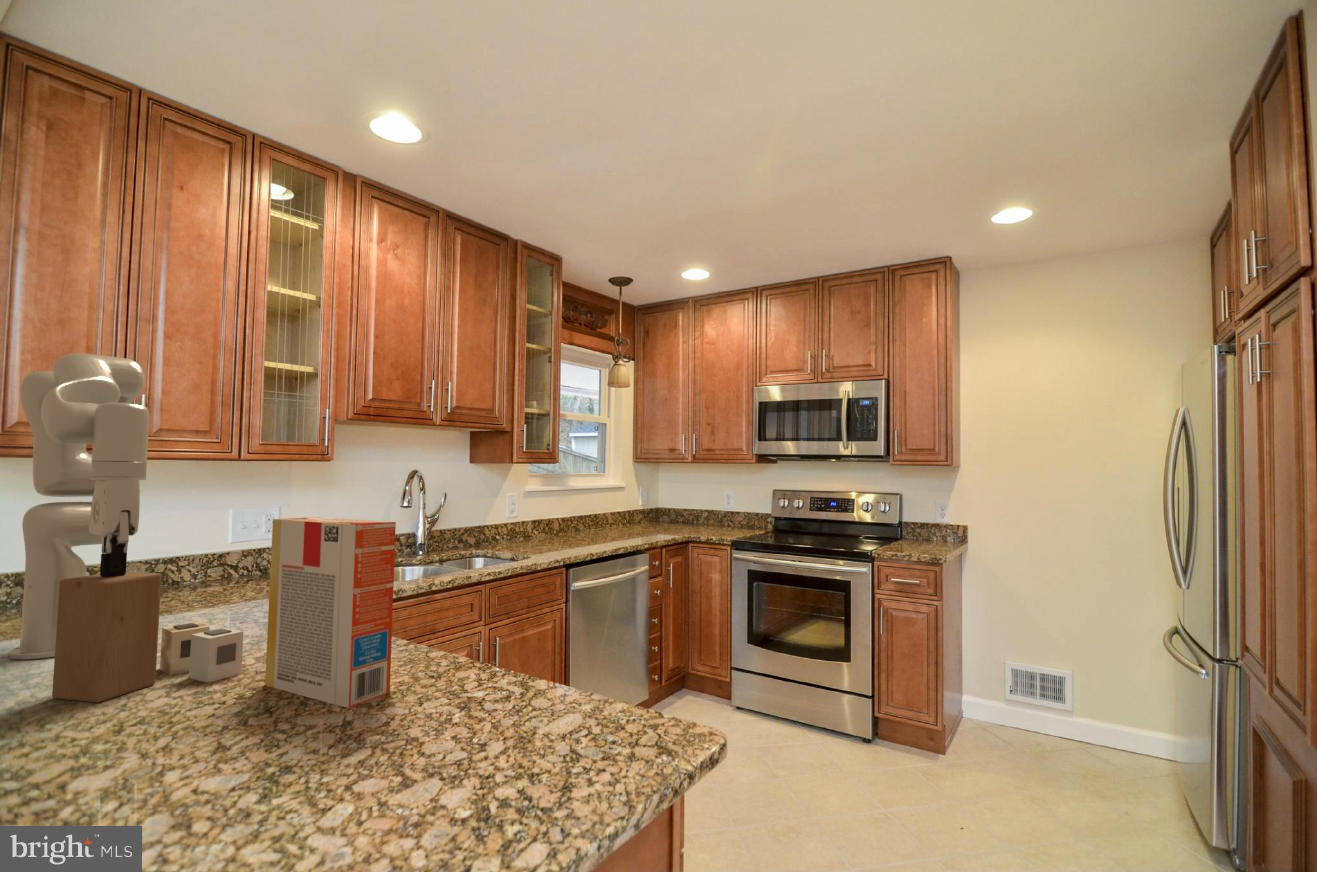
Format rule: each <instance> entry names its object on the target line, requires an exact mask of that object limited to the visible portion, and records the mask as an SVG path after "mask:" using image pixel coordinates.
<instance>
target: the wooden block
mask: <svg viewBox="0 0 1317 872" xmlns="http://www.w3.org/2000/svg"><path fill="white" fill-rule="evenodd" d="M161 588H162V574H161V573H160V572H141V571H140V572H139V571H126V574H125V575H123V576H113V577H102V576H100V573H97V574H96V573H95V574H91V575H86V576H82V577H75V578H68V579H63V580H61V581H60V587H59V602H58V617H57V631H56V646H55V657H54V661H53V662H54V665H53V677H52V678H53V679H52V692H51V693H52V694H51V696H52V698H53V699H57V700H58V699H59V700H66V701H67V700H69V701H79V702H87V703H88V702H89V703H102V702H105V701H108V700H111V699H113V698H118V697H120V696H123V695H126V694H129V693H132V692H135V691H138V690H141V689H144V688H147V687H150V686H153V685H155V683H156V676H157V659H158V644H159V643H158V642H159V625H160V609H161V608H160V606H161V593H162V592H161V590H162V589H161Z"/></svg>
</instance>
